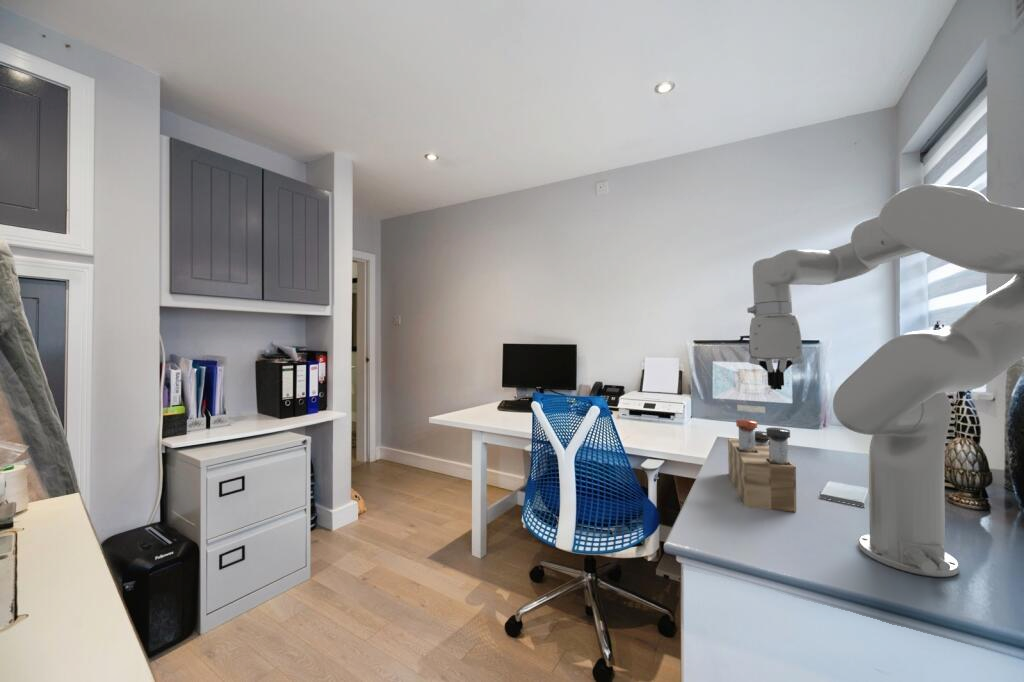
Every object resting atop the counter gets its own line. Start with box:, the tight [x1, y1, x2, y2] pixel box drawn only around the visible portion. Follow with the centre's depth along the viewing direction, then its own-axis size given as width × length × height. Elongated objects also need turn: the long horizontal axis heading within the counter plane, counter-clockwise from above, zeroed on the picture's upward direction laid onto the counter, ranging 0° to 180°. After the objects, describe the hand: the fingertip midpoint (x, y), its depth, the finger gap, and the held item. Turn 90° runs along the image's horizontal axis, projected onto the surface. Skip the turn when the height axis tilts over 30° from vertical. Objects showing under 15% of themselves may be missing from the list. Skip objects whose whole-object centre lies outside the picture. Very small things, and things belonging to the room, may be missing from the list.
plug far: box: [755, 430, 769, 445], centre depth 112 cm, size 5×5×12 cm
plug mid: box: [735, 418, 758, 453], centre depth 105 cm, size 5×5×12 cm
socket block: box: [727, 438, 797, 513], centre depth 104 cm, size 24×10×10 cm, turn 160°
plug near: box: [765, 427, 791, 465], centre depth 95 cm, size 5×5×12 cm
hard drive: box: [819, 480, 869, 508], centre depth 100 cm, size 2×8×12 cm
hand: (776, 388), depth 97 cm, fingers closed
